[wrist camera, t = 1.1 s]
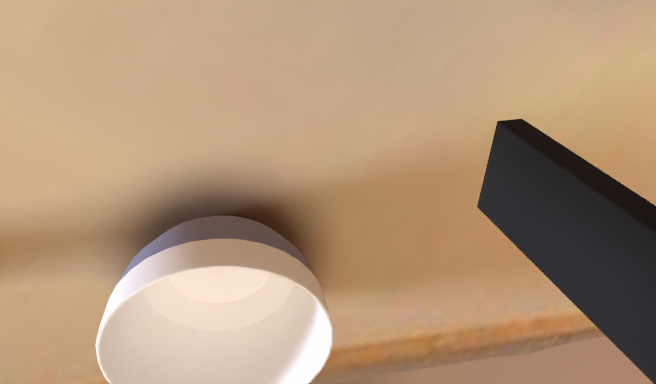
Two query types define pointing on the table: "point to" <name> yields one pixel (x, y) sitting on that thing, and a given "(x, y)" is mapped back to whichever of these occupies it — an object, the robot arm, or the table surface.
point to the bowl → (216, 310)
